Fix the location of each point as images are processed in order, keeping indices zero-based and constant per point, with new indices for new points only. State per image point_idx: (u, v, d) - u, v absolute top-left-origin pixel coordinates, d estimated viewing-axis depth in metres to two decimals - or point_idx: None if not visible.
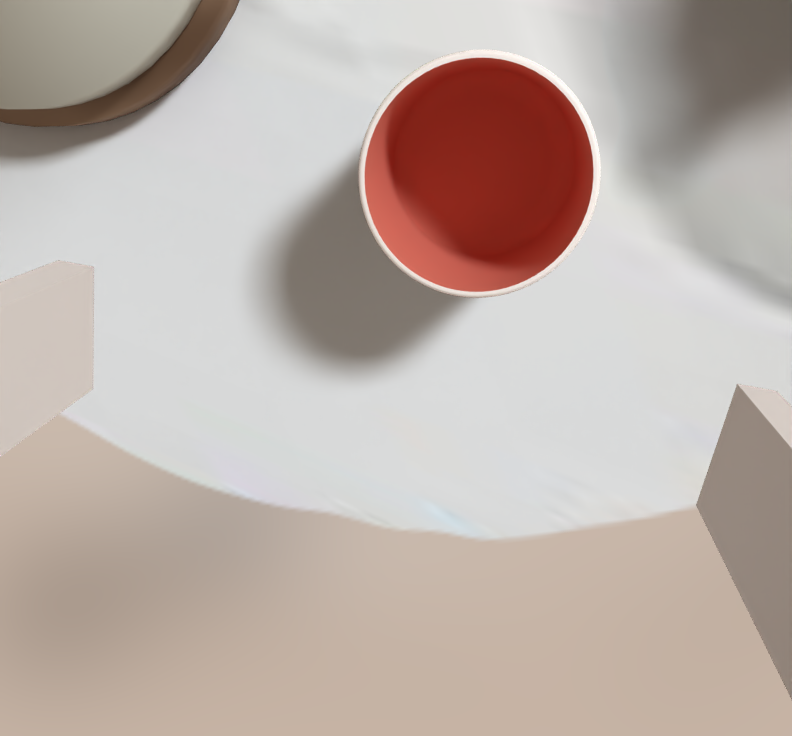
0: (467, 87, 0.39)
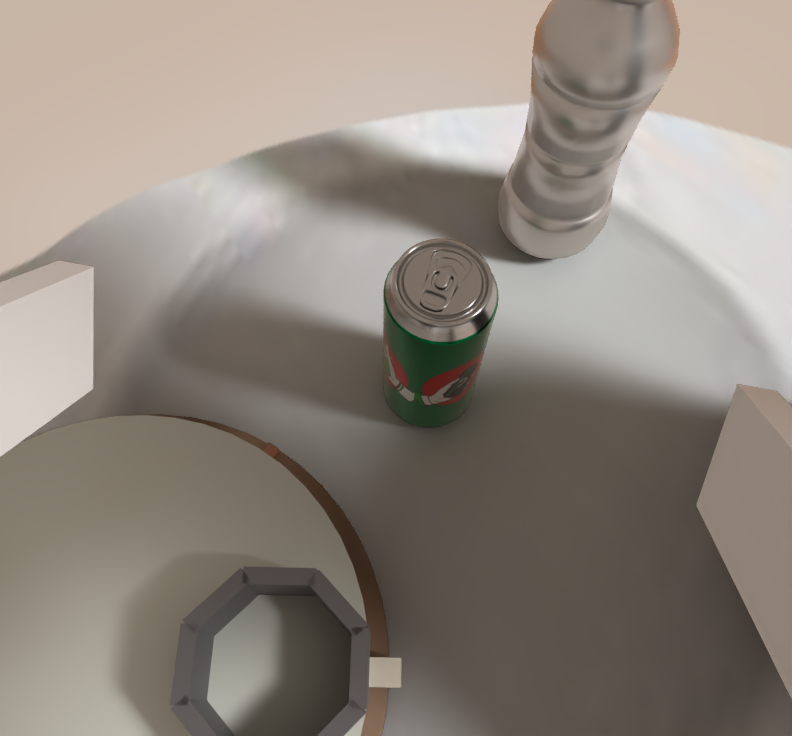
0: None
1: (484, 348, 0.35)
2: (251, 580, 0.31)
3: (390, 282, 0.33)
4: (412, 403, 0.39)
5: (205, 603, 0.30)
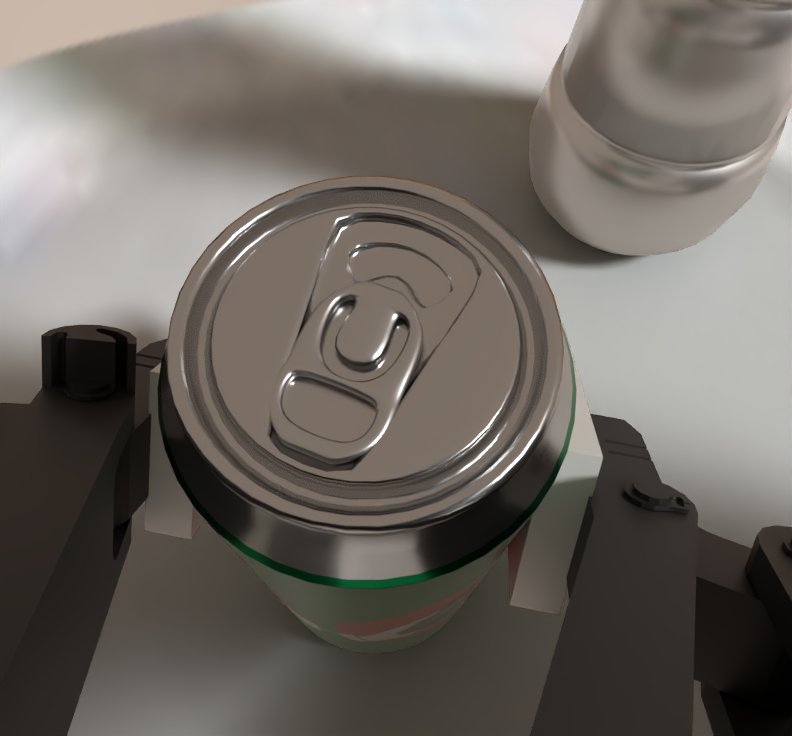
0: None
1: None
2: None
3: None
4: (321, 631, 0.15)
5: None
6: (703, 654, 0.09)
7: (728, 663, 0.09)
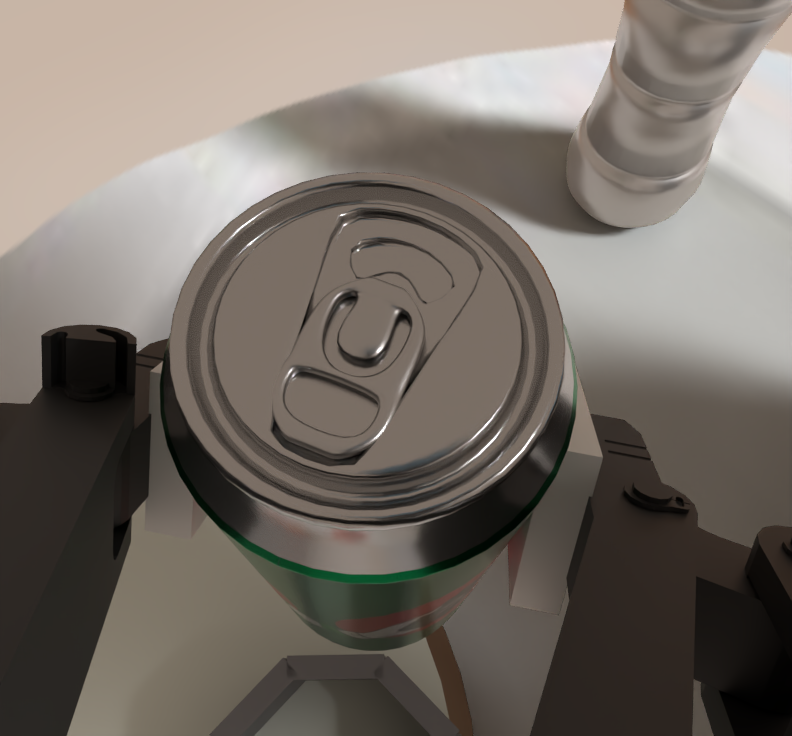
0: None
1: None
2: (298, 674, 0.23)
3: None
4: (322, 628, 0.15)
5: (239, 709, 0.23)
6: (703, 653, 0.09)
7: (728, 663, 0.09)
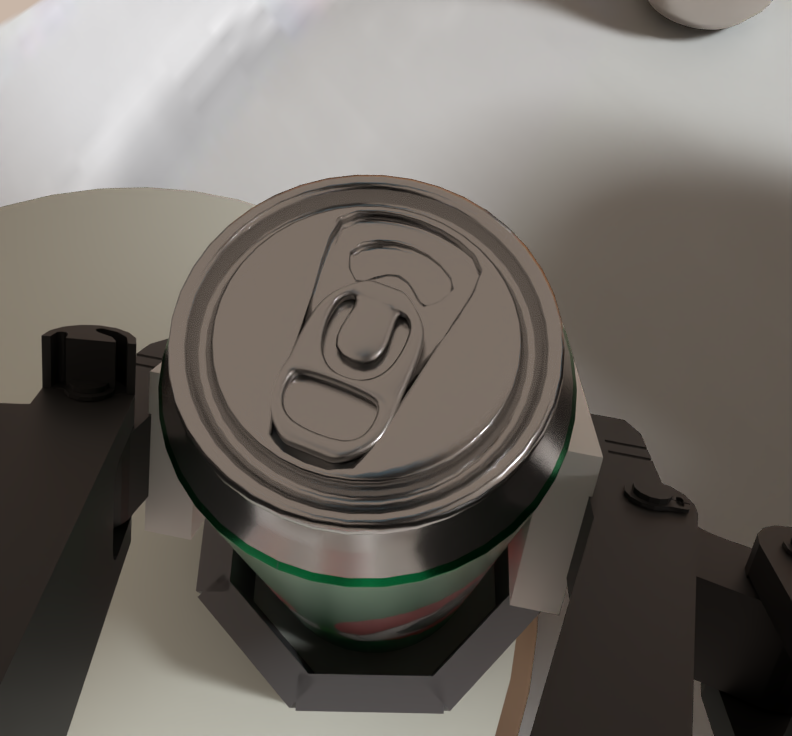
0: None
1: None
2: None
3: None
4: (321, 631, 0.15)
5: None
6: (703, 654, 0.09)
7: (729, 663, 0.09)
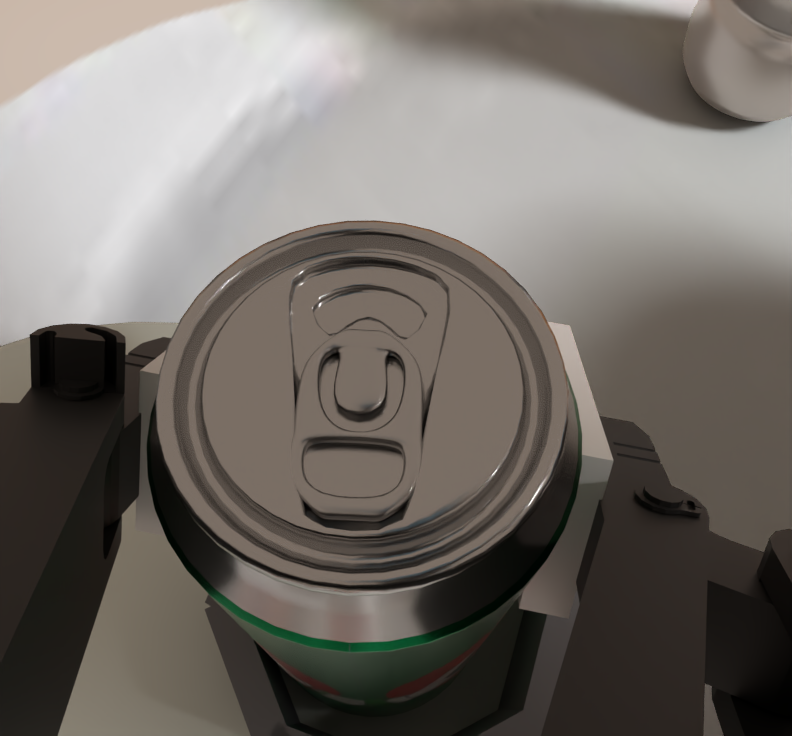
0: None
1: None
2: None
3: None
4: (363, 706, 0.14)
5: None
6: (716, 659, 0.09)
7: (740, 667, 0.09)
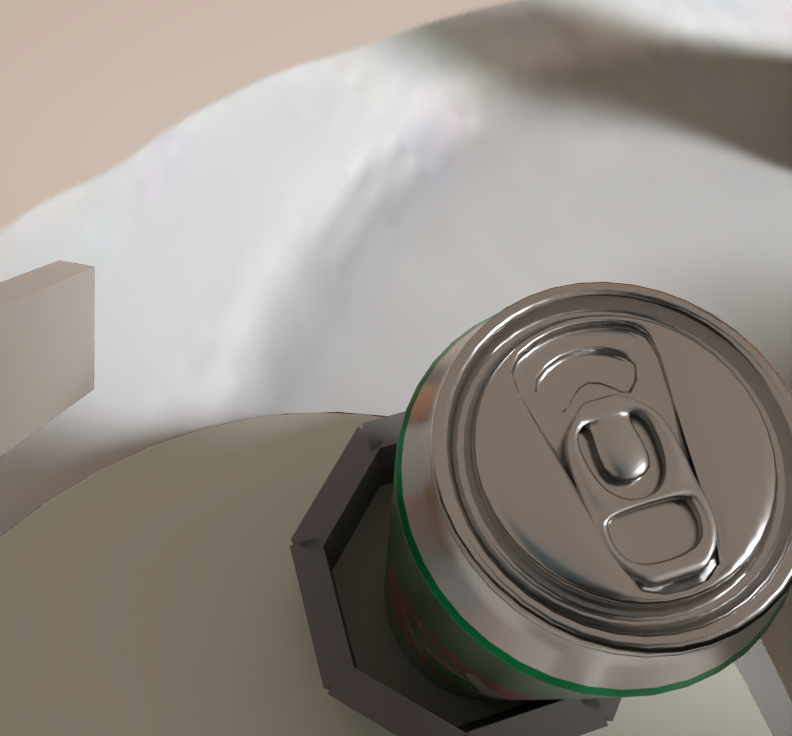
0: None
1: None
2: (320, 536, 0.17)
3: (454, 569, 0.08)
4: None
5: (317, 633, 0.16)
6: None
7: None
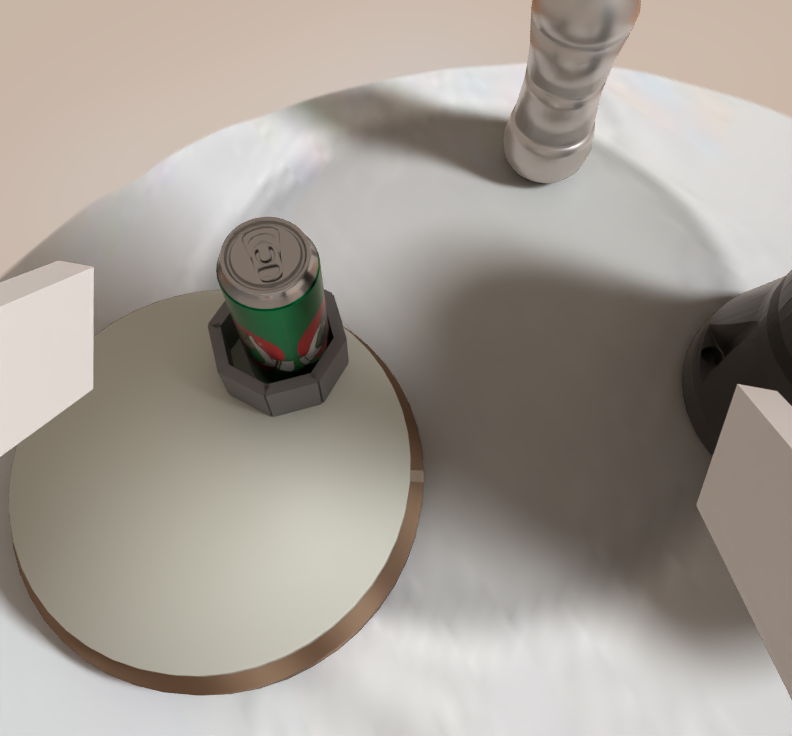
0: None
1: None
2: (219, 323, 0.44)
3: (225, 282, 0.36)
4: (294, 371, 0.42)
5: (216, 354, 0.43)
6: None
7: None
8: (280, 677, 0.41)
